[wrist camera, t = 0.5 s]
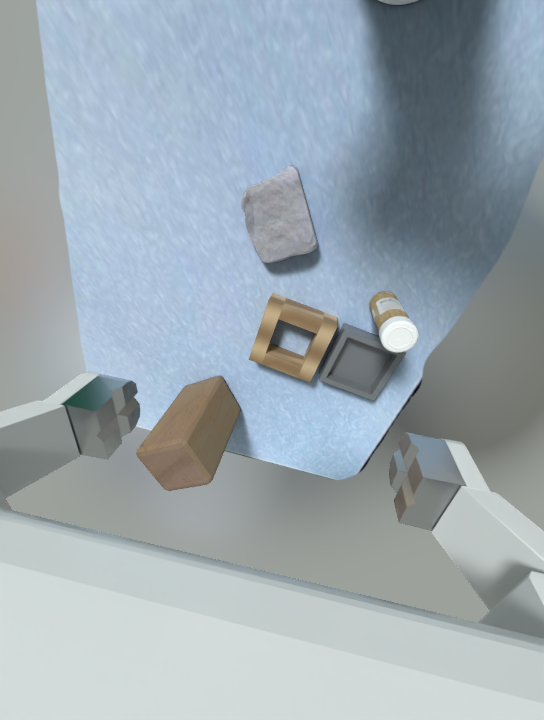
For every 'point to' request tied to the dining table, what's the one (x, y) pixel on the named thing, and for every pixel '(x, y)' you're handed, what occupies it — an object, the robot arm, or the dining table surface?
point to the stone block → (279, 217)
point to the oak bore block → (302, 318)
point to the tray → (359, 363)
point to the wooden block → (191, 435)
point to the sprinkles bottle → (393, 323)
